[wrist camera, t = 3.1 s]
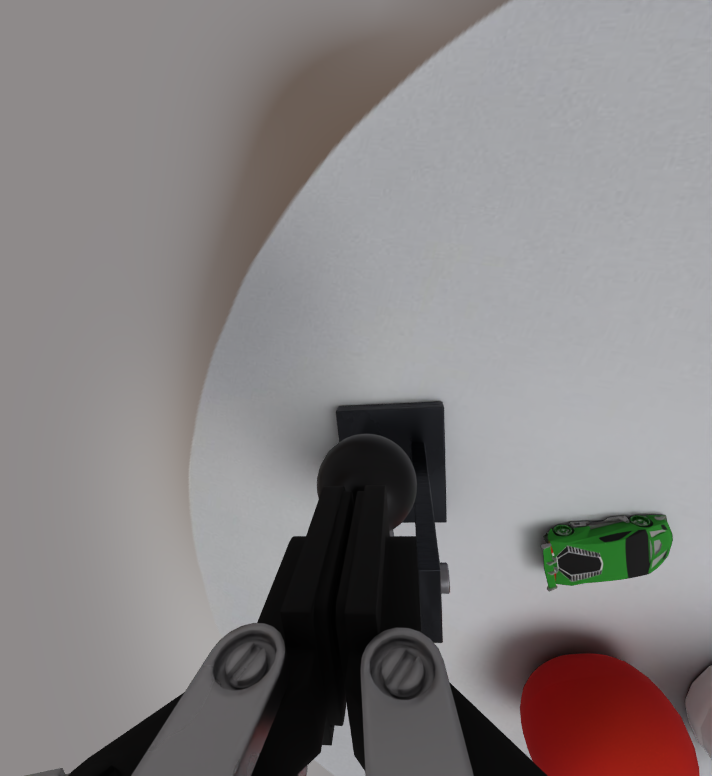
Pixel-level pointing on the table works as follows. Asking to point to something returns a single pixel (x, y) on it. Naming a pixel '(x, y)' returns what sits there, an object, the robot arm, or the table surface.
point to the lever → (372, 472)
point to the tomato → (602, 721)
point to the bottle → (701, 709)
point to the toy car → (605, 549)
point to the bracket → (427, 454)
